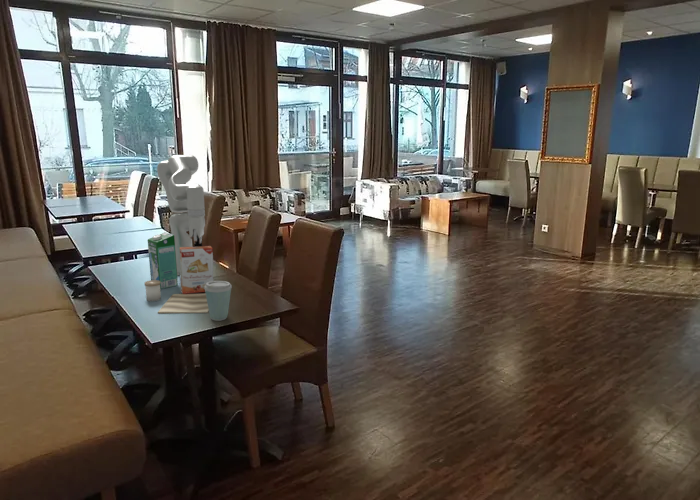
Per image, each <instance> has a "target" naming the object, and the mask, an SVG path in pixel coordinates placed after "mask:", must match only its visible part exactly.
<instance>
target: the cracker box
mask: <svg viewBox="0 0 700 500" xmlns="http://www.w3.org/2000/svg"><path fill="white" fill-rule="evenodd" d="M179 249H180V275H179V276H180V279H179V280H180V283H179V284H180V292H181V294H199V293H205V289H204V286H205V285H206V283H207V282H211V281H214V263H213V262H214V255H213V254H214V253H213V252H214V249H213V247H212V246H211V245H202V246H199V247H194V246H192V247H180V248H179Z"/></svg>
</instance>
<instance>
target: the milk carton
mask: <svg viewBox="0 0 700 500" xmlns="http://www.w3.org/2000/svg"><path fill="white" fill-rule="evenodd" d="M147 249H148V259H149V260H148V261H149V272H150V275H149V276H150V280H159V281H160V282H161V284H160V290H163V289H168V288H171V287H175V286H178V283H179V282H178V275H177V266H176V252H175V238H174V235H172V233H169V232H162V233H160V234H156V235H153V236H152V237H150V238H148V239H147Z"/></svg>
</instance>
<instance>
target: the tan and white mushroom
mask: <svg viewBox="0 0 700 500" xmlns="http://www.w3.org/2000/svg"><path fill="white" fill-rule="evenodd" d="M160 284H161V282H160V281H159V280H151V279H149V280H147V281H145V282H144V286H145V297H146V301H147V302H157V301H160V300H162V293H161V289H160Z"/></svg>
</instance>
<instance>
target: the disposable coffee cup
mask: <svg viewBox="0 0 700 500" xmlns="http://www.w3.org/2000/svg"><path fill="white" fill-rule="evenodd" d="M232 286H233V285H232V284H231V283H230V282H229V281H225V280H213V281H211V282H207V283H206V285H205V286H204V289H205V292H204V294H206V298H207V303H208V308H209V311H208V313H209V317H210V319H211V320H212V321H217V322H218V321H225V320H226V319H227V318H228V315H229V307H230V301H231V293H232V288H233V287H232Z"/></svg>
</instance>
